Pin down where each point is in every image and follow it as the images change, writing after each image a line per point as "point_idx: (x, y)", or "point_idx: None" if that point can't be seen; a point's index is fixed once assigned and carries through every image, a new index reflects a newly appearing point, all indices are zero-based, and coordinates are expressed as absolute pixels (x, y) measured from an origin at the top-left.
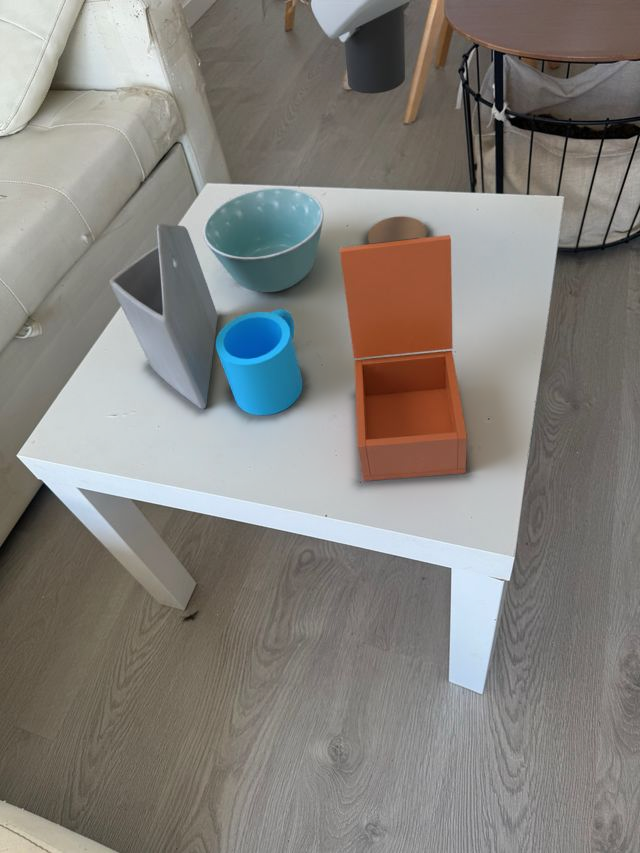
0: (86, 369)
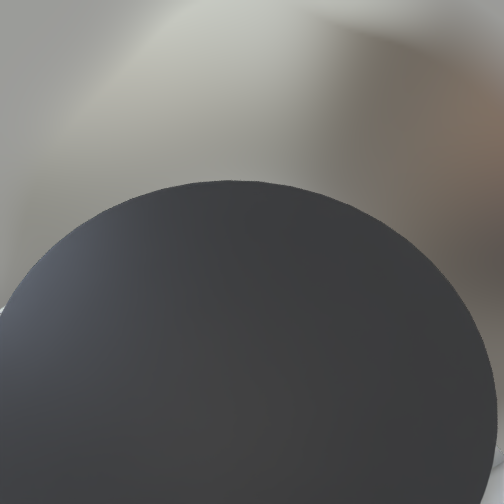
0: (3, 308)
